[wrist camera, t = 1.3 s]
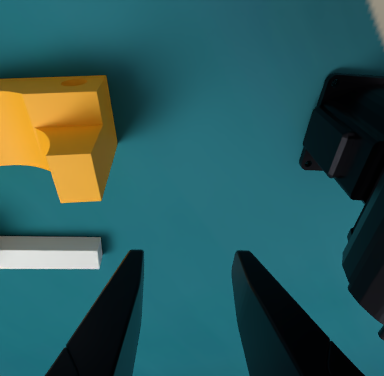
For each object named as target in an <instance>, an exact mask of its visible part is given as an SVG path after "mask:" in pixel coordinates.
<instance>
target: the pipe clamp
mask: <svg viewBox="0 0 384 376" xmlns="http://www.w3.org/2000/svg"><path fill="white" fill-rule="evenodd" d="M117 144H118V143H117V137H116V131H115V125H114V119H113V113H112V107H111V101H110V95H109V89H108V83H107V77H106V75H98V76H68V77H39V78H10V79H0V166H4V165H28V166H35V167H40V168H43V169H46V170H48V171H50V172H51V174H52V177H53V180H54V183H55V186H56V189H57V193H58V196H59V199H60V202H61V203H70V202H89V201H101V200H102V197H103V193H104V190H105V186H106V183H107V179H108V176H109V172H110V169H111V165H112V162H113V158H114V155H115V151H116V147H117Z"/></svg>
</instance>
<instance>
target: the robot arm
mask: <svg viewBox="0 0 384 376" xmlns="http://www.w3.org/2000/svg"><path fill="white" fill-rule="evenodd" d="M335 79H337V82H336V84H335V85H333V86H331V84H332V82H333V81H334V80H335ZM303 146H304V148H303V151H302V154H301V157H300V160H299V164H300V166H301V167H302V168H303V169H304V170H319V171H324V172H325V173H326V174H327V176H328V177H329V178H334V179H335V180H336V181H337V183H338V184H339V185H340V186H341V187H342V189H343V190H344V191H345V192H346V193H347V195H348V196H349V197H350V198H351V199H352V200H361V201H362V202H363V203H364V204H365V206H364V208H363V209H362V211H361V213H360V215H359V217H358V219H357V221H356V223H355V225H354V227H353V228H351V229H350V231H349V233H348V235H347V238H348V244H347V246H346V247H345V249H344V251H343V260H342V266H343V269H344V271H345V274H346V277H347V279H348V281H349V285H348V290H349V292H350V293H351V294H352V296H353V297H354V298H355V299H356V301H357V302H358V303H359V304H360V305H361V306H362V307H363V308H364V309H365V310H366V311H367V312H368V313H369V314H370V315H371V316H373V317H374V318H375V319H376V320H377V321H379V322H380V323H382V324H383V327H382V328H381V329H380V331H379V332H378V335H379V337H380V338H381V339H382V340H384V77H382V76H368V75H355V74H342V73H332V74H330V75H329V76H328V77H327V78H326V80H325V82H324V85H323V88H322V92H321V95H320V98H319V101H318V104H317V107H316V108H315V109H314V110H313V112H312V115H311V119H310V122H309V125H308V128H307V131H306V134H305V138H304V141H303ZM307 161H309V163H308V164H305V163H306V162H307ZM143 281H144V251H143V250H130V251H129V252H128V253H127V255H126V256H125V258H124V259H123V261H122V262H121V264H120V265H119V267H118V268H117V270H116V271H115V273H114V274H113V276H112V277H111V279H110V280H109V282H108V283H107V285H106V286H105V288H104V289H103V291H102V292H101V294H100V295H99V297H98V298H97V300H96V301H95V303H94V304H93V306H92V307H91V309H90V310H89V312H88V313H87V315H86V316H85V317H84V319H83V320H82V322H81V323H80V325H79V326H78V328H77V329H76V331H75V332H74V334H73V335H72V337H71V338H70V340H69V341H68V343H67V344H66V347H65V348H64V349H63V350H62V352H61V353H60V355H59V356H58V358H57V359H56V360H55V362H54V363H53V365H52V366H51V368H50V369H49V370H48V372H47V373H46V375H45V376H132V373H133V368H134V362H135V356H136V350H137V345H138V339H139V333H140V327H141V317H142V299H143ZM232 283H233V291H234V300H235V308H236V316H237V323H238V328H239V332H240V337H241V341H242V345H243V349H244V354H245V358H246V362H247V366H248V371H249V375H250V376H365V375H364V374H363V373H362V372H361V371H360V370H359V369H358V368H357V367H356V366H355V365H354V364H353V363H352V362H351V361H350V360H349V359H348V358H347V357H346V356H345V355H344V354H343V352H342V351H341V350H340V349H339V348H338V347H337V346H336V345H335V344H334V343H333V342H332V341H330V339H329V337H328V336H327V335H326V334H325V333H324V332H323V331H322V330H321V329H320V327H319V326H318V325H317V324H316V323H315V322H314V321H313V320H312V319H311V318H310V316H309V315H308V314H307V313H306V312H305V311H304V310H303V309H302V308H301V307H300V305H299V304H298V303H297V302H296V301H295V300H294V299H293V298H292V297H291V296H290V295H289V293H288V292H287V291H286V290H285V289H284V288H283V287H282V286H281V285H280V284H279V282H278V281H277V280H276V279H275V278H274V277H273V276H272V275H271V274H270V273H269V272H268V270H267V269H266V268H265V267H264V266H263V265H262V264H261V263H260V262H259V261H258V259H257V258H256V257H255V256H254V255H253V254H252V253H251V252H250V251H243V250H238V251H236V253H235V257H234V261H233V265H232Z"/></svg>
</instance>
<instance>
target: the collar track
mask: <svg viewBox="0 0 384 376" xmlns="http://www.w3.org/2000/svg"><path fill="white" fill-rule="evenodd" d="M102 255H103V254H102V245H101V237H43V236H0V269H100V264H101V260H102Z"/></svg>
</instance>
